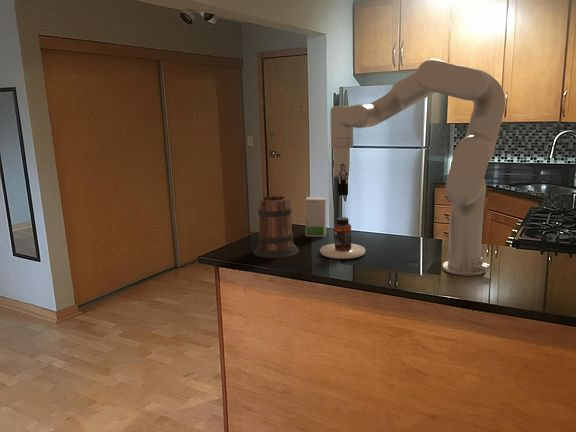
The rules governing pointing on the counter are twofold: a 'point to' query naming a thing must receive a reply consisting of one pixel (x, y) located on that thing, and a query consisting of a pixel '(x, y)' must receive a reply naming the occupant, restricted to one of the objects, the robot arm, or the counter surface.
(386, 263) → the counter surface
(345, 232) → the supplement bottle
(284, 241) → the tankard
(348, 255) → the plate
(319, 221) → the skincare box
